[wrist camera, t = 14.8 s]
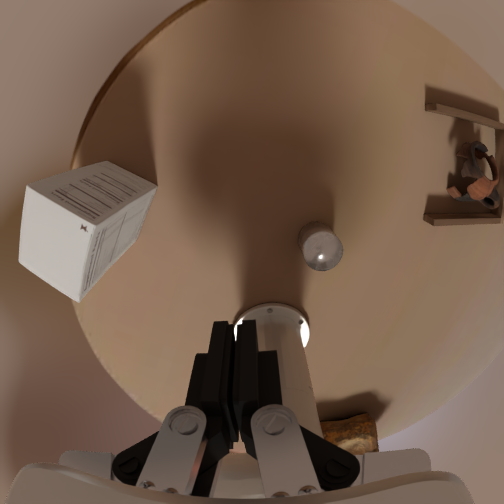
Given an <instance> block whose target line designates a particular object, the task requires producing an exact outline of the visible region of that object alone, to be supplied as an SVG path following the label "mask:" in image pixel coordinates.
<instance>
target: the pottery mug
mask: <svg viewBox="0 0 504 504" xmlns="http://www.w3.org/2000/svg"><path fill="white" fill-rule="evenodd" d="M487 151H488V149H487V147H486V146H485V145H484V144H482V143H481V142H478V141H475V142H473V143H469V142H466V143H465V144H463V146H462V149H461V150H460V151H459V152H458V153H457V156H460V157H463V158H465V159H467V160H466V161H465V162H464V165H463V168H462V169H461V175H462V177H466V176H468V177H473V178H476V180H475V181H474V182H473V183H472V184H470V185H469V186H468V187H467V191H468V192H466V193H465V194H461V193H460V192H459V191H458V190H457V188H456V187H455V186H452V187H451V188H447V191H448V193H449V194H450V195H451V196H452V197H453V198H454V199H455V200H457V201H460V202H461V201H479V202H480V203H482V204H483V205H484V206H485V207H487V208H489V209H495V208H497V207H498V206H499V204H500V196H499V194H498V192H497V190H496V187H495V185H497V183H498V181H499V170H498V166H497V163H496V161H495V159H494V157H493V155H491V156H488V155H487V154H486V153H485V152H487ZM475 156H476V157H477V158H478V159H482V158H486V160H487V161H488V163H489V165H490V168H491V171H492V176H493V181H492V180H489V179H488V178H487V177H486V176H485V175H484V174H483V173H482V171H481V170H480V168H479V166H478V164H477V161H476V158H475Z"/></svg>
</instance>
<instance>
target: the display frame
mask: <svg viewBox="0 0 504 504" xmlns="http://www.w3.org/2000/svg"><path fill="white" fill-rule="evenodd" d="M425 111H429V112H434V113H439V114H443V115H448V116H452V117H456V118H460V119H464V120H468V121H471V122H475V123H478V124H482V125H485V126H488V127H491V128H494V129H495V136H496V163H497V166H498V170H499V181H498V183H497V185H495V187H496V190H497V192H498V194H499V196H500V204H499V206H498V207H497V208H495V209H492V211H491V213H443V214H424V219H423V220H424V221H426V222H428V223H429V224H431V225H433V226H447V225H470V224H498V223H503V221H504V124H503V123H500V122H498V121H495V120H492V119H489V118H486V117H483V116H480V115H477V114H474V113H471V112H467V111H464V110H460V109H457V108H453V107H449V106H445V105H441V104H425Z"/></svg>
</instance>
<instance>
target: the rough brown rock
mask: <svg viewBox="0 0 504 504" xmlns="http://www.w3.org/2000/svg"><path fill="white" fill-rule="evenodd" d="M320 425H321V429H322V433H323V437H324V439H325V440H327V441H329V442H331V443H333V444H334V445H336V446H338V447H340V448H342V449H344V450H346V451H348V452H350V453H351V454H353V455H364V453H370V452H379V449H378V440H377V430H376V423H375V421H374V420H373V419H372V418H371V417H369V414H361V415H356V416H354V417H352V418H349V419H345V420H340V421H324V422H320Z"/></svg>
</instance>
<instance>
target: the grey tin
mask: <svg viewBox="0 0 504 504" xmlns="http://www.w3.org/2000/svg"><path fill="white" fill-rule="evenodd" d="M298 243H299V246H300V249H301V251H302V254H303V256H304V258H305V261H306V263H307V264H308V266H310V267H311V268H312V269H314V270H317V271H327V270H330V269H332V268H333V267H335V266H336V265H337V264H338V263H339V262H340V260H341V258H342V255H343V246H342V243H341V242H340V240H339V239H338V238H337V236H336V235H335V234H334V233H333V232H332V230H331V229H330V228H329V227H328V226H327V225H326V224H324V223H322V222H311V223H309V224H307V225H306V226H304V227H303V228H302V229H301V231H300V233H299V236H298Z"/></svg>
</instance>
